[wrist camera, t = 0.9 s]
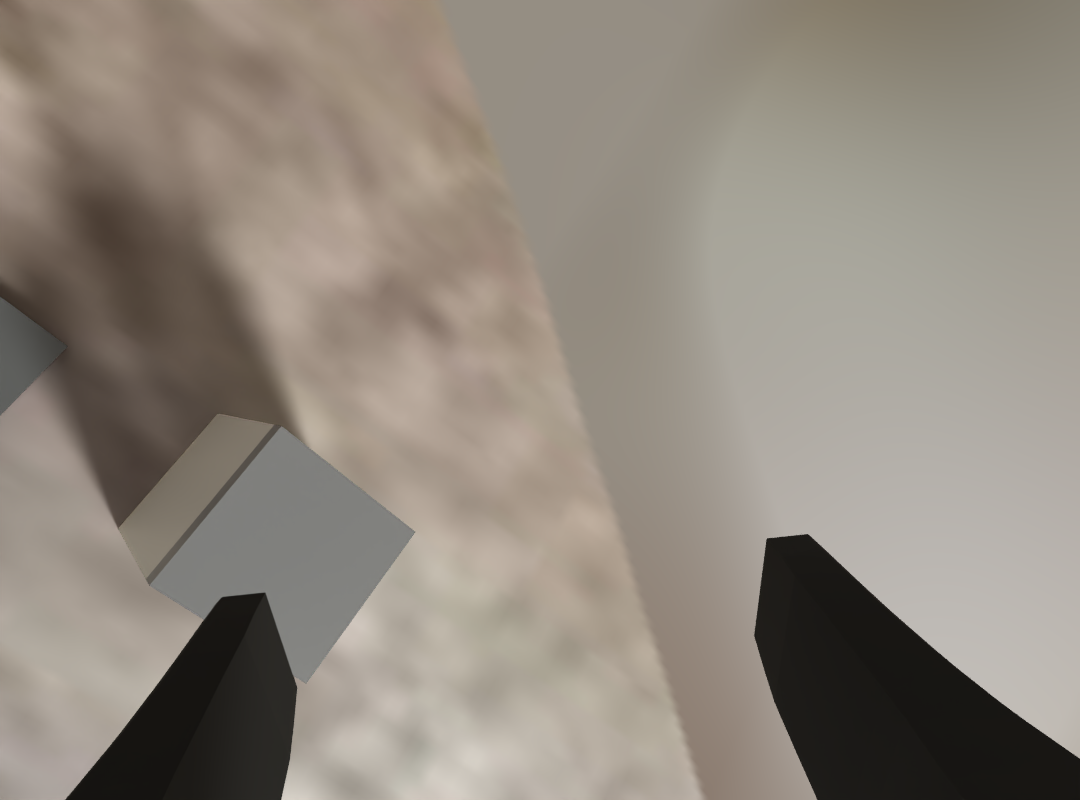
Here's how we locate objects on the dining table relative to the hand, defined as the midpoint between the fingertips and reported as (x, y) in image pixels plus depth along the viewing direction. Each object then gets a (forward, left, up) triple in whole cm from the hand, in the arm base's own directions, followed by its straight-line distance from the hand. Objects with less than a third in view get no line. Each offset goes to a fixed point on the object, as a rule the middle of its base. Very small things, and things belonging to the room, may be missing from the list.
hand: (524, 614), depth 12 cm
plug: (-1, +1, -14) cm, 14 cm away
